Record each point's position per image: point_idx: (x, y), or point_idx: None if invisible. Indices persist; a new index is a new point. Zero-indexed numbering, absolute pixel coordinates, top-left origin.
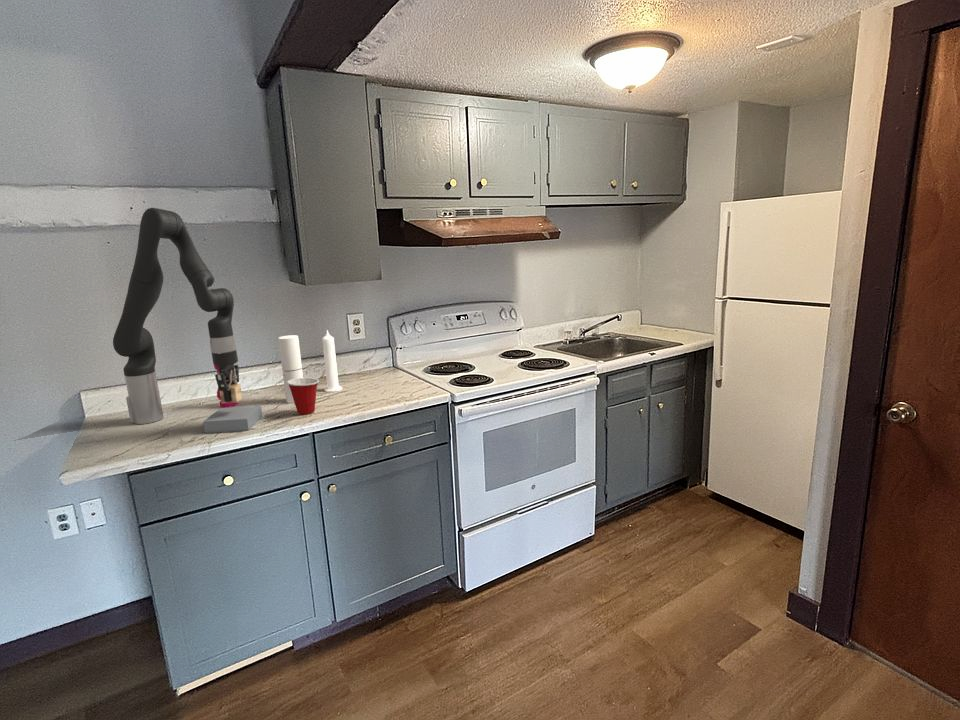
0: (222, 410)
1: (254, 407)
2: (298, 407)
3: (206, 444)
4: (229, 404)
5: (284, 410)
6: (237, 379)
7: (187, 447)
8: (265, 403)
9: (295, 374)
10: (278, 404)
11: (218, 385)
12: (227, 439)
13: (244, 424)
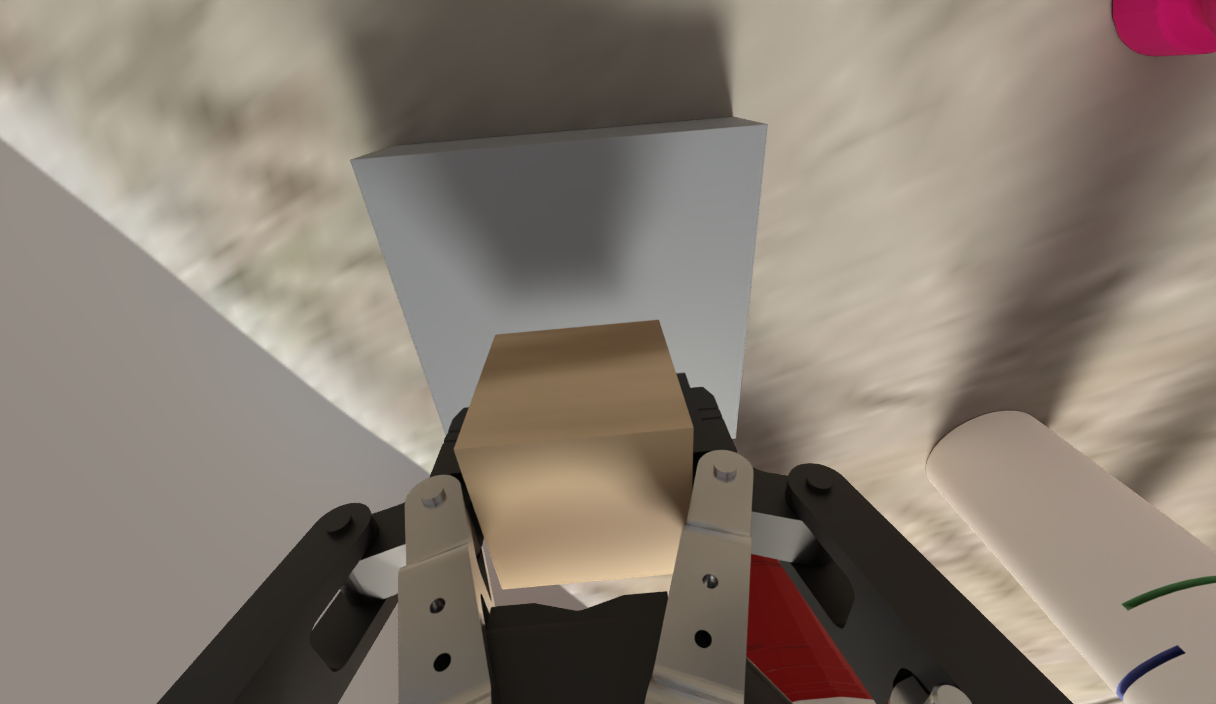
0: (681, 188)
1: None
2: None
3: (203, 277)
4: (1137, 2)
5: (800, 457)
6: (788, 574)
7: (98, 166)
8: (1026, 301)
9: (1084, 656)
10: (947, 390)
11: (252, 607)
12: (318, 362)
13: None
